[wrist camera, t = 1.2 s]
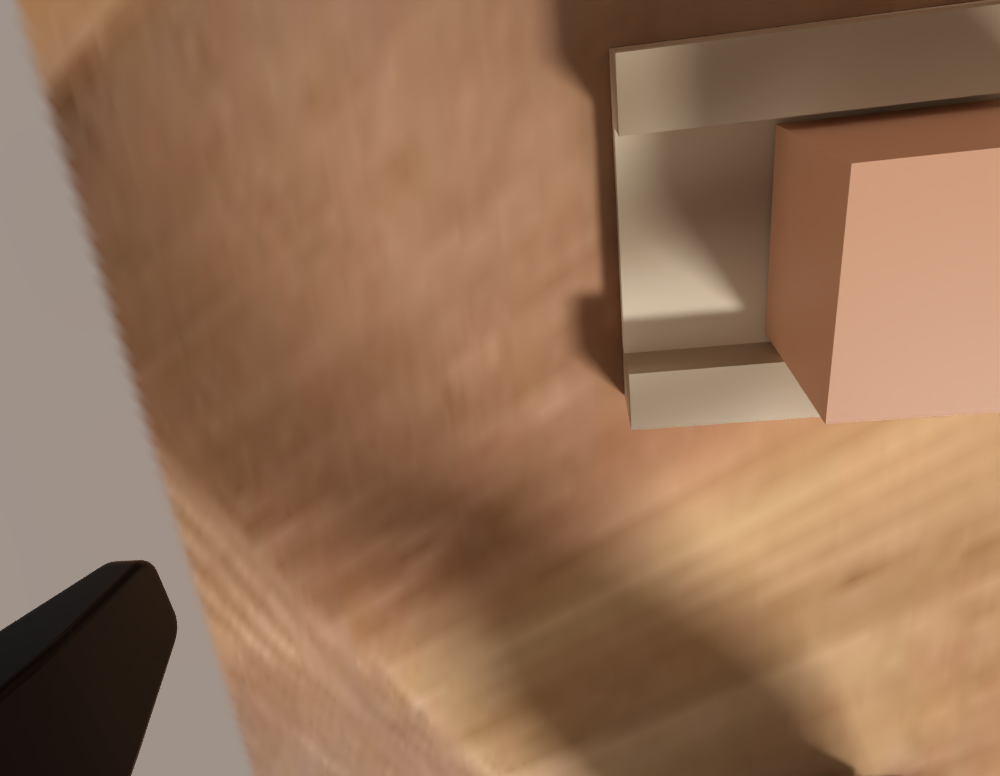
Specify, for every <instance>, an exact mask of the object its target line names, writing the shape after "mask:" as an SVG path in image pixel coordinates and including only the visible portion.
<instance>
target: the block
mask: <svg viewBox="0 0 1000 776" xmlns="http://www.w3.org/2000/svg"><path fill="white" fill-rule="evenodd" d="M765 334H766V335H767V337H768V338H769V340H770V341H771V343H772V344H773V346H774V347H775V349H776V350H777V352H778V353H779V355H780V356H781V358H782V359H783V361H784V362H785V364H786V365H787V367H788V368H789V370H790V371H791V373H792V374H793V376H794V377H795V379H796V380H797V382H798V383H799V385H800V386H801V388H802V389H803V391H804V392H805V394H806V395H807V397H808V398H809V400H810V401H811V403H812V405H813V406H814V408H815V409H816V411H817V412H818V414H819V415H820V417H821V418H822V420H823V421H824V423H825V424H835V423H849V422H863V421H878V420H892V419H906V418H921V417H935V416H949V415H964V414H978V413H992V412H1000V99H994V100H985V101H977V102H968V103H959V104H950V105H942V106H933V107H924V108H915V109H906V110H898V111H889V112H880V113H871V114H863V115H854V116H845V117H836V118H828V119H819V120H810V121H801V122H792V123H784V124H776V134H775V153H774V172H773V191H772V210H771V229H770V248H769V267H768V286H767V305H766V325H765Z"/></svg>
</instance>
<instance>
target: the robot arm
mask: <svg viewBox="0 0 1000 776" xmlns="http://www.w3.org/2000/svg"><path fill="white" fill-rule="evenodd" d="M176 634H177V620H176V615H175V612H174V610H173V608H172V605H171V603H170V601H169V598H168V596H167V594H166V591H165V589H164V587H163V585H162V582H161V580H160V577H159V575H158V573H157V571H156V569H155V567H154V566H153V565H152V564H151V563H149V562H147V561H143V560H134V561H115V562H110V563H107V564H105V565H103V566H101V567H100V568H98V569H97V570H95V571H94V572H92V573H90V574H89V575H88V576H86V577H84V578H83V579H81V580H79V581H78V582H77V583H75V584H73V585H72V586H70V587H69V588H67V589H65V590H64V591H62V592H61V593H59V594H58V595H56V596H54V597H53V598H51V599H50V600H48V601H47V602H45V603H43V604H42V605H40V606H39V607H37V608H36V609H34V610H33V611H31V612H29V613H28V614H26V615H25V616H23V617H21V618H20V619H18V620H17V621H15V622H14V623H12V624H10V625H9V626H7V627H6V628H4V629H3V630H1V631H0V776H131V774H132V771H133V768H134V765H135V763H136V760H137V757H138V754H139V751H140V748H141V745H142V742H143V739H144V735H145V733H146V729H147V726H148V723H149V720H150V717H151V714H152V711H153V708H154V705H155V702H156V698H157V695H158V692H159V689H160V686H161V683H162V680H163V677H164V674H165V671H166V667H167V664H168V661H169V658H170V655H171V652H172V649H173V646H174V643H175V639H176Z"/></svg>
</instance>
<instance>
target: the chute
mask: <svg viewBox="0 0 1000 776" xmlns="http://www.w3.org/2000/svg"><path fill="white" fill-rule="evenodd" d="M609 62H610V84H611V106H612V127H613V149H614V171H615V192H616V214H617V235H618V257H619V279H620V300H621V322H622V344H623V365H624V387H625V399H626V405H627V410H628V415H629V420H630V425H631V430H640V429H654V428H668V427H682V426H696V425H711V424H725V423H739V422H753V421H767V420H781V419H795V418H809V417H820V415H819V414H818V412H817V411H816V409H815V408H814V406H813V405H812V403H811V401H810V400H809V398H808V397H807V395H806V394H805V392H804V391H803V389H802V388H801V386H800V385H799V383H798V382H797V380H796V379H795V377H794V376H793V374H792V373H791V371H790V370H789V368H788V367H787V365H786V364H785V362H784V361H783V359H782V358H781V356H780V355H779V353H778V352H777V350H776V349H775V347H774V346H773V344H772V343H771V341H770V340H769V338H768V337H767V335H766V334H765V325H766V305H767V286H768V267H769V248H770V229H771V210H772V191H773V172H774V153H775V134H776V124H784V123H792V122H801V121H810V120H819V119H828V118H836V117H845V116H854V115H863V114H871V113H880V112H889V111H898V110H906V109H915V108H924V107H933V106H942V105H950V104H959V103H968V102H977V101H985V100H994V99H1000V0H984V1H976V2H968V3H960V4H952V5H945V6H937V7H929V8H921V9H913V10H906V11H898V12H890V13H882V14H875V15H867V16H859V17H851V18H843V19H836V20H828V21H820V22H812V23H804V24H797V25H789V26H781V27H773V28H765V29H758V30H750V31H742V32H734V33H726V34H719V35H711V36H703V37H695V38H687V39H680V40H672V41H664V42H656V43H648V44H641V45H633V46H625V47H617V48H609Z"/></svg>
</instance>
